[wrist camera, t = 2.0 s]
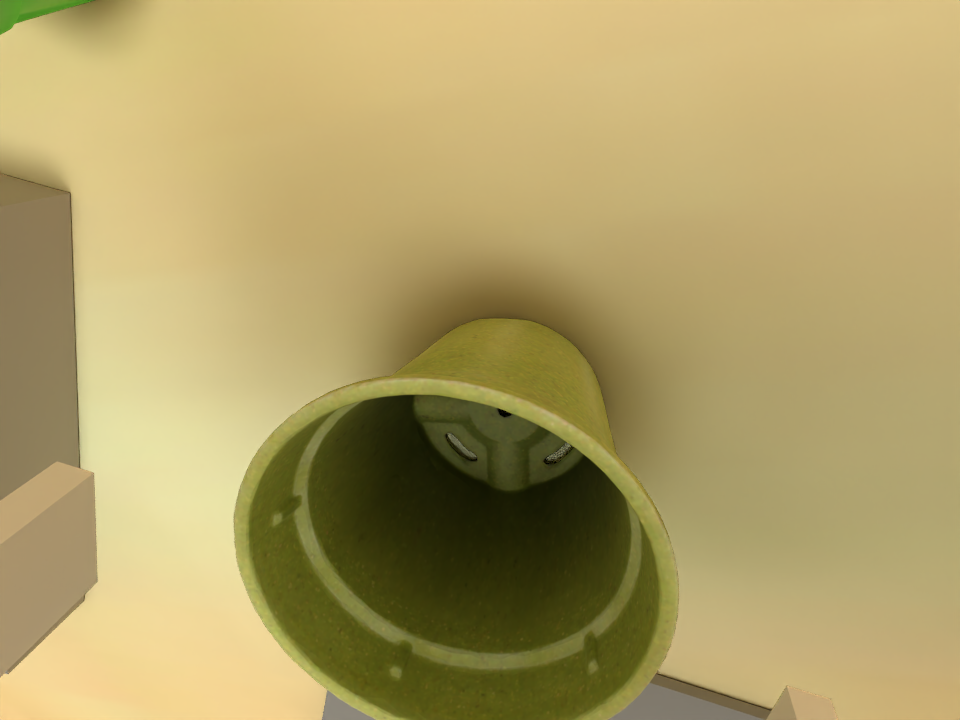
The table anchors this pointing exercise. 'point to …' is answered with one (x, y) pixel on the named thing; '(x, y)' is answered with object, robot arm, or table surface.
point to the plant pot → (461, 539)
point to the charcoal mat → (632, 705)
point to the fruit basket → (30, 10)
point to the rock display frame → (36, 338)
